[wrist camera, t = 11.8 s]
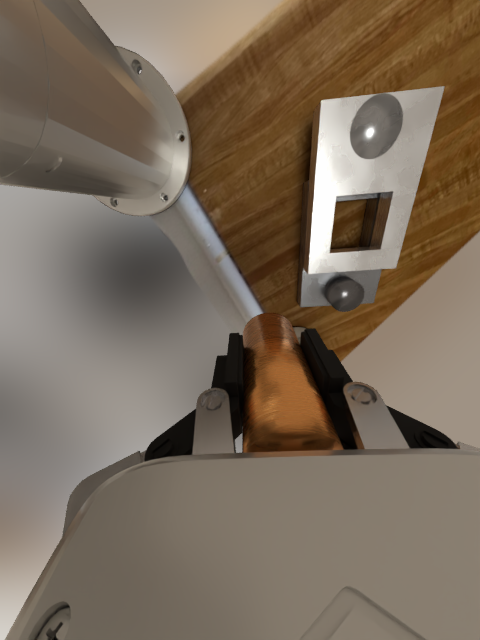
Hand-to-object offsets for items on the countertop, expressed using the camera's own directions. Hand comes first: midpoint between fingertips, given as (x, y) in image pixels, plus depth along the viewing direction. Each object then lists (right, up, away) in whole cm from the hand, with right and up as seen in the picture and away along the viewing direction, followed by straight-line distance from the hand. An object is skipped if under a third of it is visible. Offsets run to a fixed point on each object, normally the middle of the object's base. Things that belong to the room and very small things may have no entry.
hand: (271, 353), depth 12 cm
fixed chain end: (+10, +11, +13) cm, 19 cm away
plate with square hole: (+9, +15, +10) cm, 20 cm away
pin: (0, +1, +2) cm, 2 cm away
